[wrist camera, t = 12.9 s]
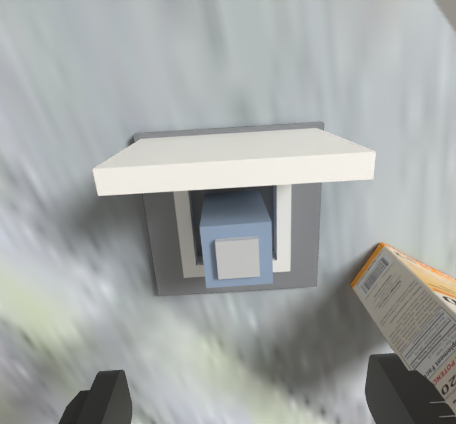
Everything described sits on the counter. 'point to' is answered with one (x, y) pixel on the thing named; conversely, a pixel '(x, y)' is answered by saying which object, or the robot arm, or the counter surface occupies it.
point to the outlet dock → (233, 182)
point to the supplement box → (413, 314)
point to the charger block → (236, 239)
